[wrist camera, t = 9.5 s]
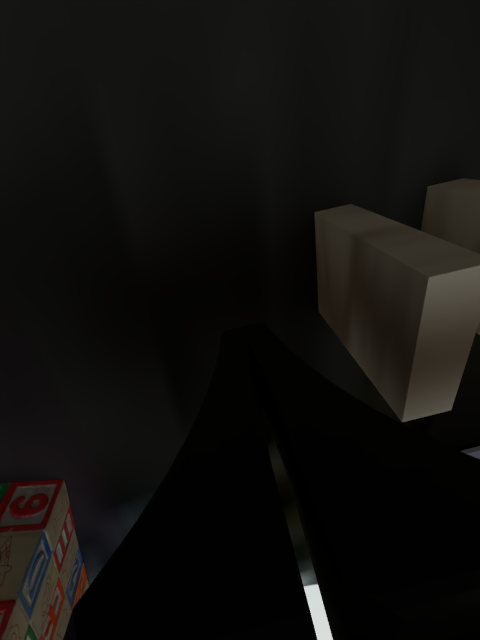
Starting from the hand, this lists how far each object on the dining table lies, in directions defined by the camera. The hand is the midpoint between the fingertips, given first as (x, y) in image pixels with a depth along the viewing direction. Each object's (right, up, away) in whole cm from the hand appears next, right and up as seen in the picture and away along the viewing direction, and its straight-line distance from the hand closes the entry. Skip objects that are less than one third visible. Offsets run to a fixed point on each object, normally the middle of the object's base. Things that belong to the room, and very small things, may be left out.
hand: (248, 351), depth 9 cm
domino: (+4, +4, +4) cm, 7 cm away
